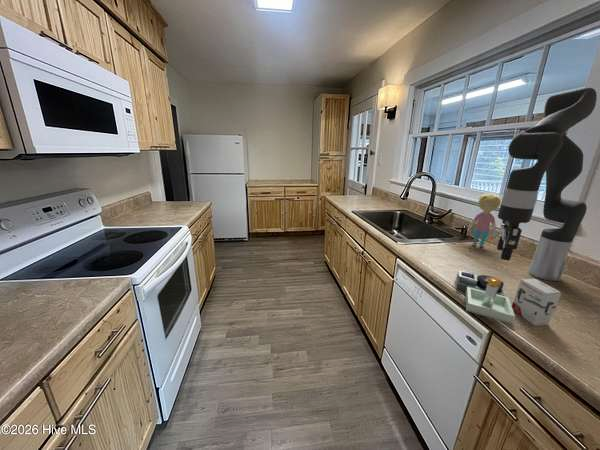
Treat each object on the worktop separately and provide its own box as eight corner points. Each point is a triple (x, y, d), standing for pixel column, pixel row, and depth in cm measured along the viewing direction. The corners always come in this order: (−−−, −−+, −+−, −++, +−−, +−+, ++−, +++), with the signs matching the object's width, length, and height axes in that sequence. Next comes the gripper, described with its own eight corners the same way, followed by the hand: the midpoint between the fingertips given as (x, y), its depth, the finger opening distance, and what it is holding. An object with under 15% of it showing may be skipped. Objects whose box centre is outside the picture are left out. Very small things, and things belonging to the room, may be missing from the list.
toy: (492, 247, 135) (507, 194, 126) (492, 252, 128) (508, 196, 119) (464, 241, 143) (476, 191, 134) (462, 246, 136) (475, 193, 127)
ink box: (509, 308, 82) (519, 278, 79) (522, 308, 83) (533, 277, 79) (535, 326, 74) (547, 293, 71) (549, 325, 75) (562, 292, 71)
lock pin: (492, 305, 83) (500, 279, 80) (493, 310, 80) (501, 284, 77) (480, 301, 85) (487, 276, 82) (481, 306, 82) (488, 280, 79)
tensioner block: (498, 289, 94) (502, 276, 92) (502, 302, 86) (506, 288, 84) (456, 278, 101) (459, 266, 99) (455, 289, 93) (459, 277, 91)
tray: (506, 304, 84) (508, 297, 84) (512, 324, 75) (515, 316, 74) (465, 293, 90) (467, 286, 90) (466, 310, 81) (468, 303, 80)
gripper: (541, 211, 64) (523, 266, 69) (528, 202, 75) (513, 249, 80) (504, 207, 68) (490, 260, 73) (498, 199, 79) (485, 244, 84)
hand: (502, 254), depth 76 cm, fingers open, 8 cm apart
